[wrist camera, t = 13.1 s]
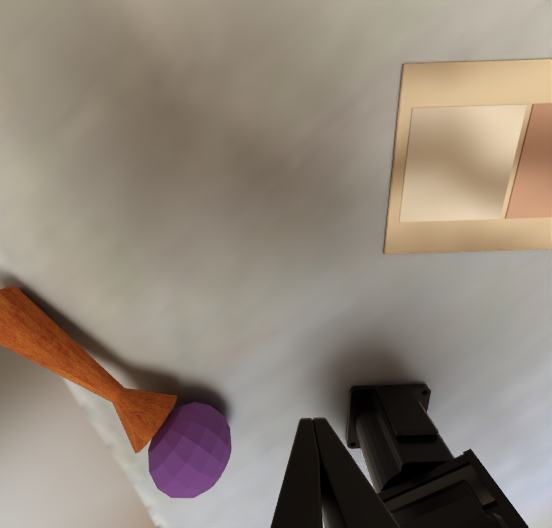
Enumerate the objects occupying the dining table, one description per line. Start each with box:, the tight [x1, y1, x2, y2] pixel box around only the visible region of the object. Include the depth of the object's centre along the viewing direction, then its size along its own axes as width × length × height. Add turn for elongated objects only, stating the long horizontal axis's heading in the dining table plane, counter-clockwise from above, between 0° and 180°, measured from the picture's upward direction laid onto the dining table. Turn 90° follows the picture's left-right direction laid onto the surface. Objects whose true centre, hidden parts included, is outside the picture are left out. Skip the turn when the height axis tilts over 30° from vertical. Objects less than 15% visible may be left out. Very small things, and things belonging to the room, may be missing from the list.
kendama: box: [0, 287, 231, 498], centre depth 19 cm, size 6×6×20 cm
